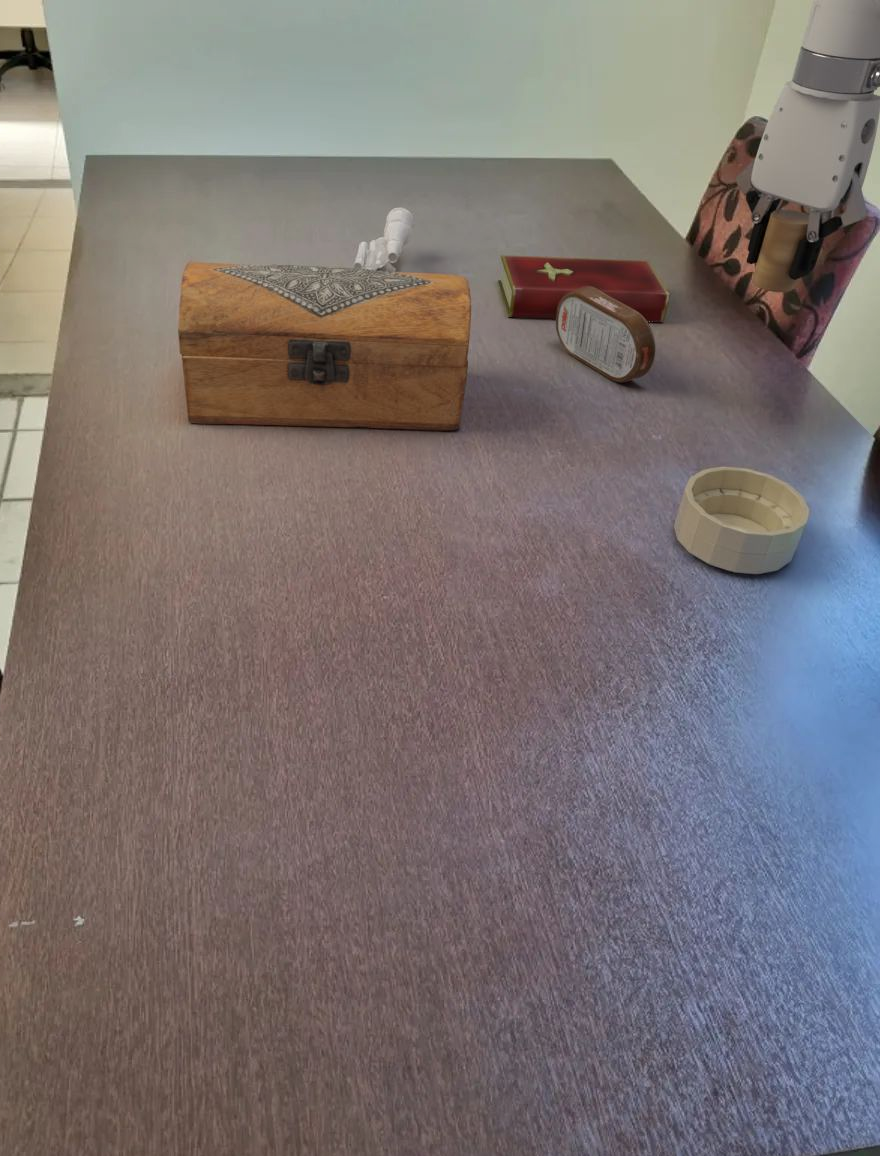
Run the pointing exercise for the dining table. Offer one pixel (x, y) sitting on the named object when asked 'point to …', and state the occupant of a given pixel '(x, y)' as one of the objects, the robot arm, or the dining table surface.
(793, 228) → the wooden cylinder
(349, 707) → the dining table surface
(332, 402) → the wooden box
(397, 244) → the toy cannon
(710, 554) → the bowl
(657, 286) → the hardcover book
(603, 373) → the tin
